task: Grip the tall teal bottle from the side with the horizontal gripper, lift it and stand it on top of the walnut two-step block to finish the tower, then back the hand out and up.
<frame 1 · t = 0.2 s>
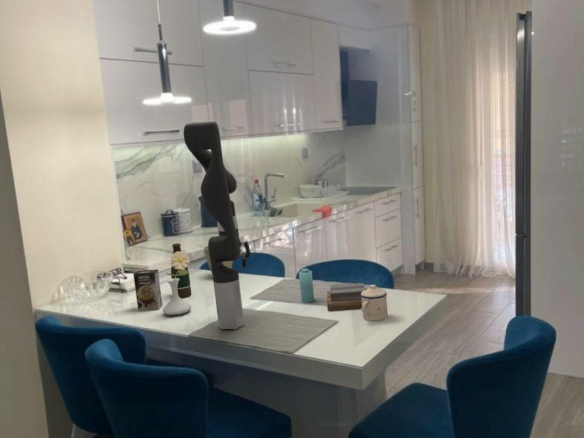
hand: (233, 269, 212), 18 cm above the table, tool pointing down, fingers open, 8 cm apart
teacup with lid: (373, 319, 194), on the table
beer bottle: (183, 296, 248), on the table
flower in vase: (179, 313, 224), on the table
plant pot: (222, 278, 275), on the table
tower base: (348, 303, 215), on the table
teal bottle: (308, 300, 223), on the table
coffee box: (150, 308, 234), on the table
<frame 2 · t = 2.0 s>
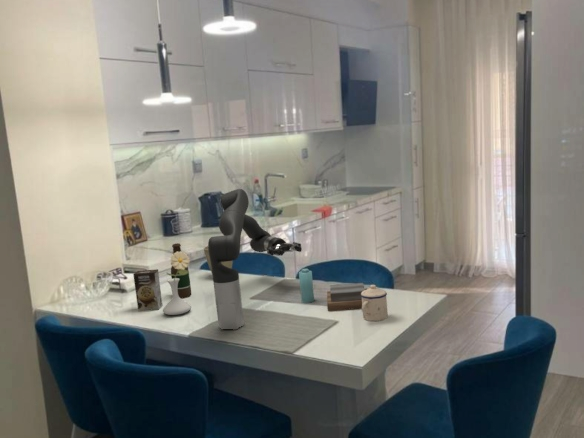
hand: (291, 251, 230), 19 cm above the table, tool horizontal, fingers open, 8 cm apart
nothing on the table moved.
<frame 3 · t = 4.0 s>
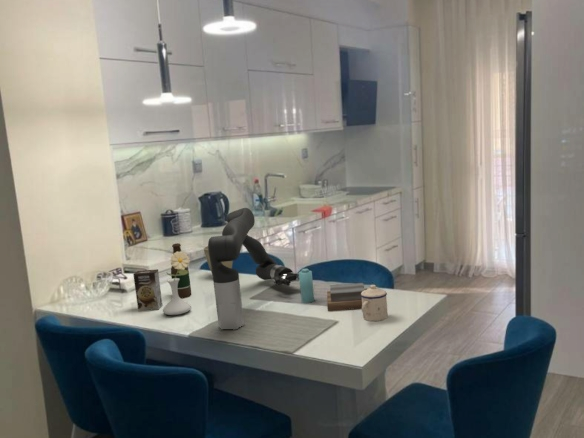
hand: (298, 281, 228), 7 cm above the table, tool horizontal, fingers open, 8 cm apart
nothing on the table moved.
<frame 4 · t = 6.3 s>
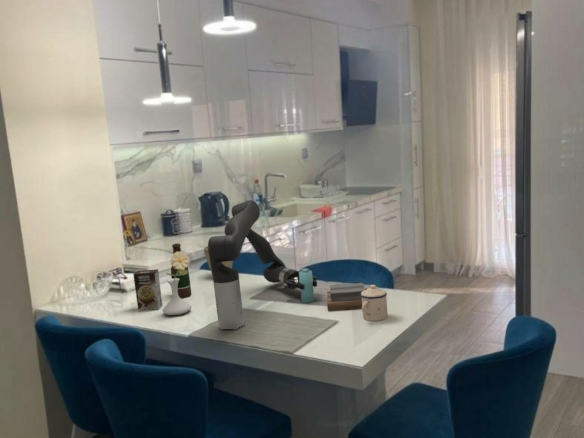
hand: (309, 285, 220), 7 cm above the table, tool horizontal, fingers closed on teal bottle, 5 cm apart
teal bottle: (308, 300, 223), on the table, touching gripper
everything else where it was.
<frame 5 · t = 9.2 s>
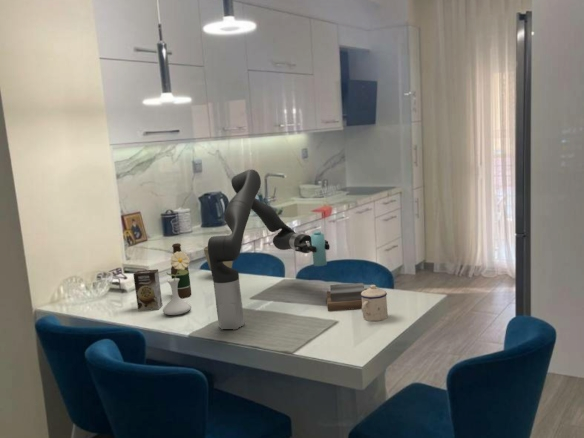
hand: (322, 248, 214), 22 cm above the table, tool horizontal, fingers closed on teal bottle, 5 cm apart
teal bottle: (320, 264, 218), point 15 cm above the table, touching gripper
everything else where it was.
when the fingers open (14 cm above the table, at t = 12.0 s): teal bottle drops 1 cm, resting on tower base.
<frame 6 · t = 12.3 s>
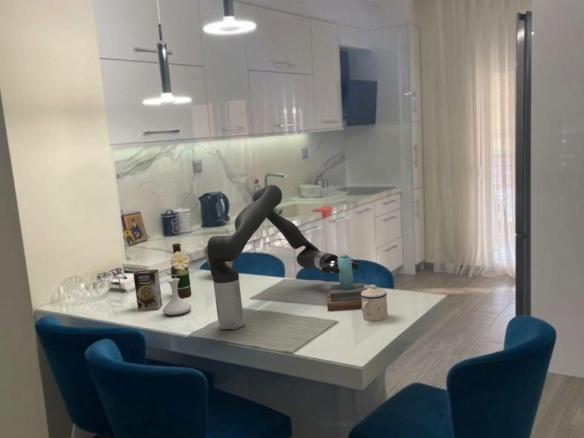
hand: (348, 268, 211), 14 cm above the table, tool horizontal, fingers open, 8 cm apart
teal bottle: (346, 288, 214), point 6 cm above the table, touching tower base
everything else where it was.
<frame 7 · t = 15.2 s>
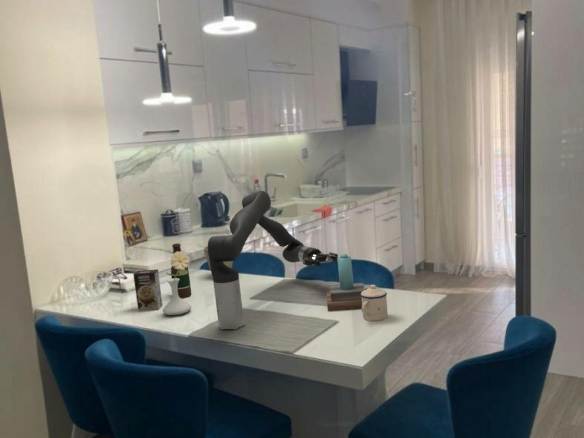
hand: (328, 261, 223), 15 cm above the table, tool horizontal, fingers open, 8 cm apart
nothing on the table moved.
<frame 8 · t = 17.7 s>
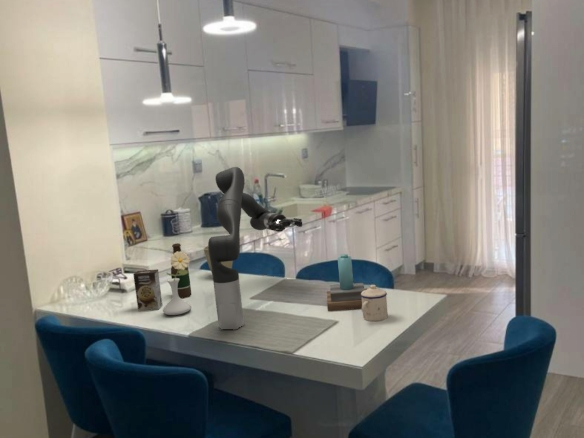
hand: (291, 225, 225), 30 cm above the table, tool horizontal, fingers open, 8 cm apart
nothing on the table moved.
at the end: teal bottle inside the target area on the tower base (0.1 cm from its centre), point 6.1 cm above the tower base's base; teal bottle tilted 2°; the gripper is holding nothing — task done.
